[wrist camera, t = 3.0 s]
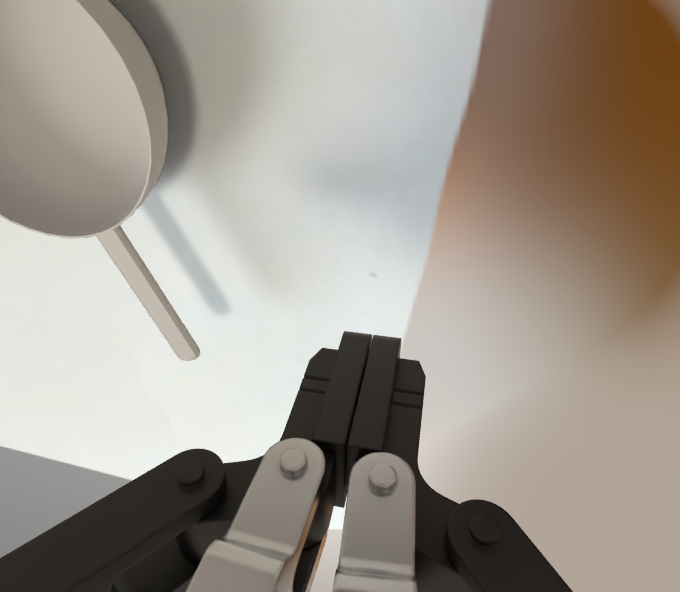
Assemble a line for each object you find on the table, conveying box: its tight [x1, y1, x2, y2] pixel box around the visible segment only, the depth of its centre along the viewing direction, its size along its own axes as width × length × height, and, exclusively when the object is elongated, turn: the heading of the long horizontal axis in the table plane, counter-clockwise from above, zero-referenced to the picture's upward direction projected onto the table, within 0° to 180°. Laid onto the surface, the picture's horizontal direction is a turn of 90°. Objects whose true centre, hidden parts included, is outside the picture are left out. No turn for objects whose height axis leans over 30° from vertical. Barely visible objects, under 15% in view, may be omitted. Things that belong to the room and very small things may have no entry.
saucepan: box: [0, 0, 200, 361], centre depth 22 cm, size 11×18×4 cm, turn 23°
